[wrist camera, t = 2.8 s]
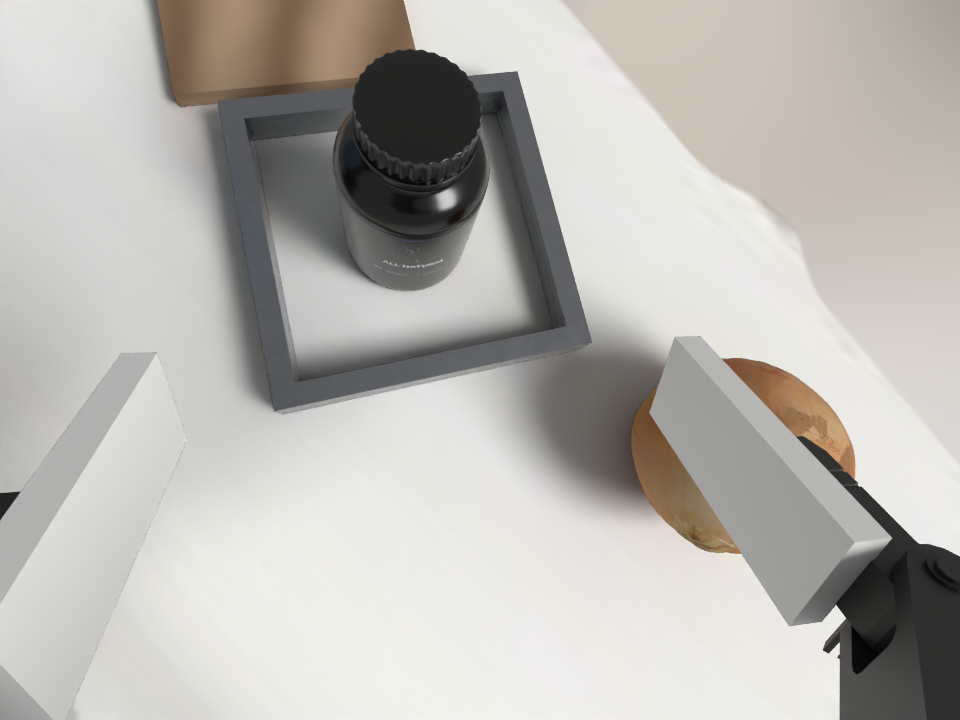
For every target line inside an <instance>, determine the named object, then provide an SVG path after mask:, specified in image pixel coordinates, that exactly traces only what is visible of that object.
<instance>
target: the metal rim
mask: <svg viewBox="0 0 960 720" xmlns="http://www.w3.org/2000/svg"><path fill="white" fill-rule="evenodd" d="M467 77H468V79H469V80H471V81H472V82H473V84H474V88H475V90H477V92H478V95H479V96H478V99H479V100H480V102H481V104H482V107H481V112H482V114H487V113H496V112H497V115H498V119H499V123H500V127H501V130H502V134H503V138H504V142H505V145H506V149H507V153H508V157H509V160H510V164H511V168H512V172H513V175H514V179H515V183H516V187H517V190H518V194H519V198H520V202H521V205H522V209H523V213H524V217H525V220H526V224H527V228H528V232H529V235H530V239H531V243H532V247H533V250H534V254H535V258H536V262H537V265H538V269H539V273H540V277H541V280H542V284H543V288H544V292H545V295H546V299H547V303H548V307H549V311H550V314H551V318H552V322H553V326H554V329H551V330H546V331H541V332H536V333H532V334H527V335H522V336H517V337H512V338H508V339H503V340H498V341H493V342H488V343H484V344H479V345H474V346H469V347H464V348H459V349H455V350H450V351H445V352H440V353H435V354H431V355H426V356H421V357H416V358H411V359H407V360H402V361H397V362H392V363H387V364H383V365H378V366H373V367H368V368H363V369H359V370H354V371H349V372H344V373H339V374H334V375H330V376H325V377H320V378H315V379H310V380H306V381H300V376H299V371H298V366H297V361H296V355H295V350H294V345H293V340H292V335H291V329H290V324H289V319H288V314H287V309H286V304H285V298H284V293H283V288H282V283H281V278H280V272H279V267H278V262H277V257H276V252H275V247H274V241H273V236H272V231H271V226H270V221H269V215H268V210H267V205H266V200H265V195H264V190H263V184H262V179H261V174H260V169H259V164H258V158H257V153H256V148H255V143H254V140H261V139H270V138H278V137H287V136H296V135H304V134H313V133H322V132H331V131H339V128H340V126H341V125H342V123H343V121H344V120H345V118H346V117H347V116H348V114H349V113H350V112H351V111H352V110H353V106H352V96H353V94H354V93H355V92H354V87H353V88H343V89H333V90H323V91H312V92H302V93H292V94H282V95H272V96H262V97H252V98H242V99H231V100H221V101H217V103H218V109H219V114H220V120H221V125H222V130H223V136H224V141H225V147H226V152H227V158H228V163H229V168H230V174H231V179H232V185H233V190H234V196H235V201H236V206H237V212H238V217H239V223H240V228H241V234H242V239H243V244H244V250H245V255H246V261H247V266H248V272H249V277H250V282H251V288H252V293H253V299H254V304H255V309H256V315H257V320H258V326H259V331H260V337H261V342H262V347H263V353H264V358H265V364H266V369H267V375H268V380H269V385H270V391H271V396H272V402H273V407H274V412H277V413H280V414H287V413H291V412H296V411H301V410H305V409H310V408H314V407H319V406H323V405H328V404H333V403H337V402H342V401H346V400H351V399H355V398H360V397H364V396H369V395H374V394H378V393H383V392H387V391H392V390H396V389H401V388H406V387H410V386H415V385H419V384H424V383H428V382H433V381H438V380H442V379H447V378H451V377H456V376H460V375H465V374H470V373H474V372H479V371H483V370H488V369H492V368H497V367H502V366H506V365H511V364H515V363H520V362H524V361H529V360H534V359H538V358H543V357H547V356H552V355H556V354H561V353H565V352H570V351H575V350H579V349H581V348H583V347H585V346H587V345H588V344H590V343H592V341H591V337H590V333H589V330H588V326H587V322H586V319H585V315H584V312H583V308H582V304H581V301H580V297H579V293H578V290H577V286H576V283H575V279H574V275H573V272H572V268H571V264H570V261H569V257H568V254H567V250H566V246H565V243H564V239H563V235H562V232H561V228H560V224H559V221H558V217H557V214H556V210H555V206H554V203H553V199H552V195H551V192H550V188H549V185H548V181H547V177H546V174H545V170H544V166H543V163H542V159H541V156H540V152H539V148H538V145H537V141H536V137H535V134H534V130H533V127H532V123H531V119H530V116H529V112H528V108H527V105H526V101H525V98H524V94H523V90H522V87H521V83H520V79H519V76H518V72H517V71H515V72H505V73H495V74H485V75H475V76H467Z"/></svg>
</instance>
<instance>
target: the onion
mask: <svg viewBox="0 0 960 720" xmlns="http://www.w3.org/2000/svg"><path fill="white" fill-rule="evenodd" d="M722 360H723V361H724V362H725V363H726V364H727V365H728V366H729V367H730V368H731V369H732V370H733V371H734V372H735V374H736V375H737V376H738V377H739V378H740V379H741V380H742V381H743V382H744V383H745V384H746V385H747V386H748V387H749V388H750V389H751V390H752V391H753V392H754V393H755V395H756V396H757V397H758V398H759V399H760V400H761V401H762V402H763V403H764V404H765V405H766V406H767V407H768V408H769V409H770V410H771V411H772V412H773V413H774V414H775V415H776V417H777V418H778V419H779V420H780V421H781V422H782V423H783V424H784V425H785V426H786V427H787V428H788V429H789V430H790V431H791V432H792V433H793V434H794V435H795V436H804V437H806V438H807V439H809V440H810V441H812V442H813V443H815V444H816V445H818V446H819V447H821V448H822V449H824V450H826V451H827V452H828V453H829V454H830V455H831V456H832V457H833V458H834V459H835V460H836V461H837V462H838V463H839V464H840V465H841V466H842V467H843V468H844V469H843V471H844V472H848V473H849V474H850V475H851V476H852V478H853V479H855V456H854V450H853V446H852V444H851V441H850V439H849V436H848V434H847V432H846V430H845V428H844V426H843V425H842V423H841V421H840V419H839V418H838V416H837V415H836V413H835V412H834V411H833V409H832V408H831V407H830V406H829V405H828V403H827V402H826V401H824V400H823V399H822V398H821V397H820V396H819V395H818V394H817V393H816V392H815V391H814V390H812V389H811V388H810V387H809V386H807V385H806V384H805V383H803V382H802V381H801V380H800V379H798V378H797V377H795V376H794V375H792V374H790V373H788V372H786V371H784V370H782V369H780V368H777V367H774V366H772V365H769V364H767V363H764V362H760V361H754V360H748V359H743V358H730V359H722ZM657 388H658V386H657V387H656V388H655V389H654V390H653V391H652V392H651V394H650V395H649V396H648V397H647V398H646V400H645V401H644V402H643V404H642V405H641V407H640V408H639V410H638V412H637V414H636V416H635V419H634V422H633V427H632V433H631V447H632V455H633V460H634V465H635V468H636V472H637V475H638V478H639V481H640V483H641V486H642V488H643V491H644V493H645V495H646V497H647V498H648V500H649V501H650V503H651V504H652V506H653V507H654V508H655V510H656V511H657V512H658V514H659V515H660V516H661V517H662V518H663V519H664V520H665V521H666V522H667V523H668V524H669V525H670V526H671V527H673V528H674V529H675V530H676V531H677V532H678V533H679V534H680V535H681V536H683V537H684V538H685V539H687V540H688V541H690V542H691V543H693V544H694V545H695V546H697V547H698V548H700V549H702V550H705V551H708V552H715V553H724V552H728V553H735V554H741V552H740V551H739V549H738V548H737V546H736V545H735V543H734V542H733V540H732V538H731V537H730V535H729V534H728V532H727V531H726V529H725V528H724V526H723V525H722V523H721V522H720V520H719V519H718V517H717V516H716V514H715V513H714V511H713V509H712V508H711V506H710V505H709V503H708V502H707V500H706V499H705V497H704V496H703V494H702V493H701V491H700V490H699V488H698V487H697V485H696V484H695V482H694V480H693V479H692V477H691V476H690V474H689V473H688V471H687V470H686V468H685V467H684V465H683V464H682V462H681V461H680V459H679V458H678V456H677V454H676V453H675V451H674V450H673V448H672V447H671V445H670V444H669V442H668V441H667V439H666V438H665V436H664V435H663V433H662V432H661V430H660V429H659V427H658V425H657V424H656V422H655V421H654V419H653V418H652V416H651V415H650V413H649V412H650V409H651V406H652V403H653V400H654V397H655V394H656V391H657Z"/></svg>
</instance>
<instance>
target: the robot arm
mask: <svg viewBox="0 0 960 720" xmlns="http://www.w3.org/2000/svg"><path fill="white" fill-rule="evenodd" d="M649 413H650V415H651V416H652V418H653V419H654V421H655V422H656V424H657V425H658V427H659V429H660V430H661V432H662V433H663V435H664V436H665V438H666V439H667V441H668V442H669V444H670V445H671V447H672V448H673V450H674V451H675V453H676V454H677V456H678V458H679V459H680V461H681V462H682V464H683V465H684V467H685V468H686V470H687V471H688V473H689V474H690V476H691V477H692V479H693V480H694V482H695V484H696V485H697V487H698V488H699V490H700V491H701V493H702V494H703V496H704V497H705V499H706V500H707V502H708V503H709V505H710V506H711V508H712V509H713V511H714V513H715V514H716V516H717V517H718V519H719V520H720V522H721V523H722V525H723V526H724V528H725V529H726V531H727V532H728V534H729V535H730V537H731V538H732V540H733V542H734V543H735V545H736V546H737V548H738V549H739V551H740V552H741V554H742V555H743V557H744V558H745V560H746V561H747V563H748V564H749V566H750V568H751V569H752V571H753V572H754V574H755V575H756V577H757V578H758V580H759V581H760V583H761V584H762V586H763V587H764V589H765V590H766V592H767V593H768V595H769V597H770V598H771V600H772V601H773V603H774V604H775V606H776V607H777V609H778V610H779V612H780V613H781V615H782V616H783V618H784V619H785V621H786V623H787V624H788V626H795V625H802V624H809V623H816V622H822V621H823V620H824V618H825V617H826V616H827V615H828V614H829V613H830V611H831V610H832V609H833V608H834V607H835V605H837V606H838V608H839V609H840V610H841V612H842V613H843V614H844V616H845V617H846V619H845V621H844V622H843V623H842V624H841V625H840V626H839V627H838V628H837V630H836V631H835V632H834V633H833V634H832V635H831V636H830V637H829V639H828V640H827V641H826V642H825V645H824V648H823V651H825V652H827V653H830V652H831V650H832V649H833V648H834V647H835V646H836V645H837V644H838V643H839V642H840V655H839V656H838V658H839V659H840V720H960V556H958V555H956V554H954V553H952V552H950V551H948V550H946V549H944V548H940V547H937V546H933V545H930V544H918V543H917V542H916V541H915V540H914V539H913V538H912V537H911V536H910V535H909V534H908V533H907V532H906V531H905V530H904V529H903V528H902V527H901V526H900V525H899V524H898V523H897V522H896V521H895V520H894V519H893V518H892V517H891V516H890V515H889V514H888V513H887V512H886V511H885V510H884V509H883V508H882V507H881V506H880V505H879V504H878V503H877V502H876V501H875V500H874V499H873V498H872V497H871V496H870V495H869V494H868V493H867V492H866V491H865V490H864V489H863V488H862V487H859V486H858V483H857V482H856V481H855V480H854V479H853V478H852V476H851V475H850V474H849V473H848V472H844V471H843V469H844V468H843V467H842V466H841V465H840V464H839V463H838V462H837V461H836V460H835V459H834V458H833V457H832V456H831V455H830V454H829V453H828V452H827V451H826V450H824V449H822V448H821V447H819V446H818V445H816V444H815V443H813V442H812V441H810V440H809V439H807V438H806V437H804V436H795V435H794V434H793V433H792V432H791V431H790V430H789V429H788V428H787V427H786V426H785V425H784V424H783V423H782V422H781V421H780V420H779V419H778V418H777V417H776V415H775V414H774V413H773V412H772V411H771V410H770V409H769V408H768V407H767V406H766V405H765V404H764V403H763V402H762V401H761V400H760V399H759V398H758V397H757V396H756V395H755V393H754V392H753V391H752V390H751V389H750V388H749V387H748V386H747V385H746V384H745V383H744V382H743V381H742V380H741V379H740V378H739V377H738V376H737V375H736V374H735V372H734V371H733V370H732V369H731V368H730V367H729V366H728V365H727V364H726V363H725V362H724V361H723V360H722V359H721V358H720V357H719V356H718V355H717V354H716V353H715V352H714V350H713V349H712V348H711V347H710V346H709V345H708V344H707V343H706V342H705V341H704V340H703V339H702V338H701V337H700V336H692V337H675V338H674V341H673V344H672V347H671V350H670V353H669V356H668V359H667V362H666V365H665V368H664V371H663V374H662V376H661V379H660V382H659V385H658V388H657V391H656V394H655V397H654V400H653V403H652V406H651V409H650V412H649ZM186 442H187V436H186V433H185V430H184V427H183V425H182V422H181V419H180V416H179V413H178V410H177V407H176V404H175V402H174V399H173V396H172V393H171V390H170V387H169V384H168V381H167V378H166V376H165V373H164V370H163V367H162V364H161V361H160V358H159V355H158V353H157V352H155V353H121V354H120V356H119V357H118V359H117V360H116V361H115V363H114V364H113V365H112V367H111V368H110V370H109V371H108V372H107V374H106V375H105V376H104V378H103V379H102V381H101V382H100V383H99V385H98V386H97V388H96V389H95V390H94V392H93V393H92V394H91V396H90V397H89V399H88V400H87V401H86V403H85V404H84V405H83V407H82V408H81V410H80V411H79V412H78V414H77V415H76V416H75V418H74V419H73V421H72V422H71V423H70V425H69V426H68V428H67V429H66V430H65V432H64V433H63V434H62V436H61V437H60V439H59V440H58V441H57V443H56V444H55V445H54V447H53V448H52V450H51V451H50V452H49V454H48V455H47V457H46V458H45V459H44V461H43V462H42V463H41V465H40V466H39V468H38V469H37V470H36V472H35V473H34V474H33V476H32V477H31V479H30V480H29V481H28V483H27V484H26V485H25V487H24V488H23V490H22V491H21V492H9V493H0V720H66V719H67V716H68V714H69V712H70V710H71V707H72V705H73V703H74V700H75V698H76V696H77V693H78V691H79V689H80V686H81V684H82V682H83V680H84V677H85V675H86V673H87V670H88V668H89V666H90V663H91V661H92V659H93V656H94V654H95V652H96V650H97V647H98V645H99V643H100V640H101V638H102V636H103V633H104V631H105V629H106V626H107V624H108V622H109V619H110V617H111V615H112V613H113V610H114V608H115V606H116V603H117V601H118V599H119V596H120V594H121V592H122V589H123V587H124V585H125V583H126V580H127V578H128V576H129V573H130V571H131V569H132V566H133V564H134V562H135V559H136V557H137V555H138V552H139V550H140V548H141V546H142V543H143V541H144V539H145V536H146V534H147V532H148V529H149V527H150V525H151V522H152V520H153V518H154V516H155V513H156V511H157V509H158V506H159V504H160V502H161V499H162V497H163V495H164V492H165V490H166V488H167V485H168V483H169V481H170V479H171V476H172V474H173V472H174V469H175V467H176V465H177V462H178V460H179V458H180V455H181V453H182V451H183V449H184V446H185V444H186Z"/></svg>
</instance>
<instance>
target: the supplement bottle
mask: <svg viewBox="0 0 960 720" xmlns="http://www.w3.org/2000/svg"><path fill="white" fill-rule="evenodd" d="M354 92H355V93H354V94H353V96H352V106H353V110H352V111H351V112H350V113H349V114H348V116H347V117H346V118H345V120H344V121H343V123H342V125H341V126H340V128H339V131H338V133H337V136H336V139H335V143H334V149H333V166H334V175H335V180H336V186H337V191H338V197H339V202H340V208H341V214H342V219H343V225H344V230H345V236H346V240H347V245H348V248H349V251H350V253H351V256H352V258H353V259H354V261H355V263H356V264H357V266H358V267H359V268H360V269H361V271H362V272H363V273H364V274H365V275H367V276H368V277H369V278H370V279H372V280H373V281H375V282H377V283H378V284H380V285H383V286H385V287H388V288H391V289H395V290H401V291H416V290H421V289H425V288H428V287H431V286H433V285H435V284H437V283H439V282H440V281H442V280H443V279H445V278H446V277H447V276H448V275H449V274H450V273H451V272H452V271H453V269H454V268H455V266H456V265H457V263H458V261H459V259H460V257H461V255H462V253H463V250H464V248H465V245H466V243H467V240H468V238H469V235H470V232H471V230H472V227H473V225H474V222H475V219H476V217H477V214H478V212H479V209H480V206H481V204H482V201H483V199H484V196H485V193H486V189H487V186H488V181H489V172H490V166H489V156H488V152H487V148H486V145H485V142H484V140H483V137H482V135H481V133H480V130H481V121H482V112H481V107H482V104H481V102H480V100H479V99H478V96H479V95H478V92H477V90H475V88H474V84H473V82H472V81H471V80H469V79H468V77H467V75H466V73H465V72H464V71H462V70H460V69H459V67H458V66H457V65H456V64H454V63H451V62H450V61H449V60H448V59H447V58H445V57H440V56H438V55H437V54H436V53H432V52H431V53H429V52H426V51H424V50H413V49H407V50H396V51H394V52H392V53H385V54H384V55H383V56H382V57H379V58H375V60H374V61H373V63H371V64H369V65H367V66H366V68H365V71H364V72H363V73H361V74H360V75H359V81H358V82H357V83H356V84H355V87H354Z"/></svg>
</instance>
